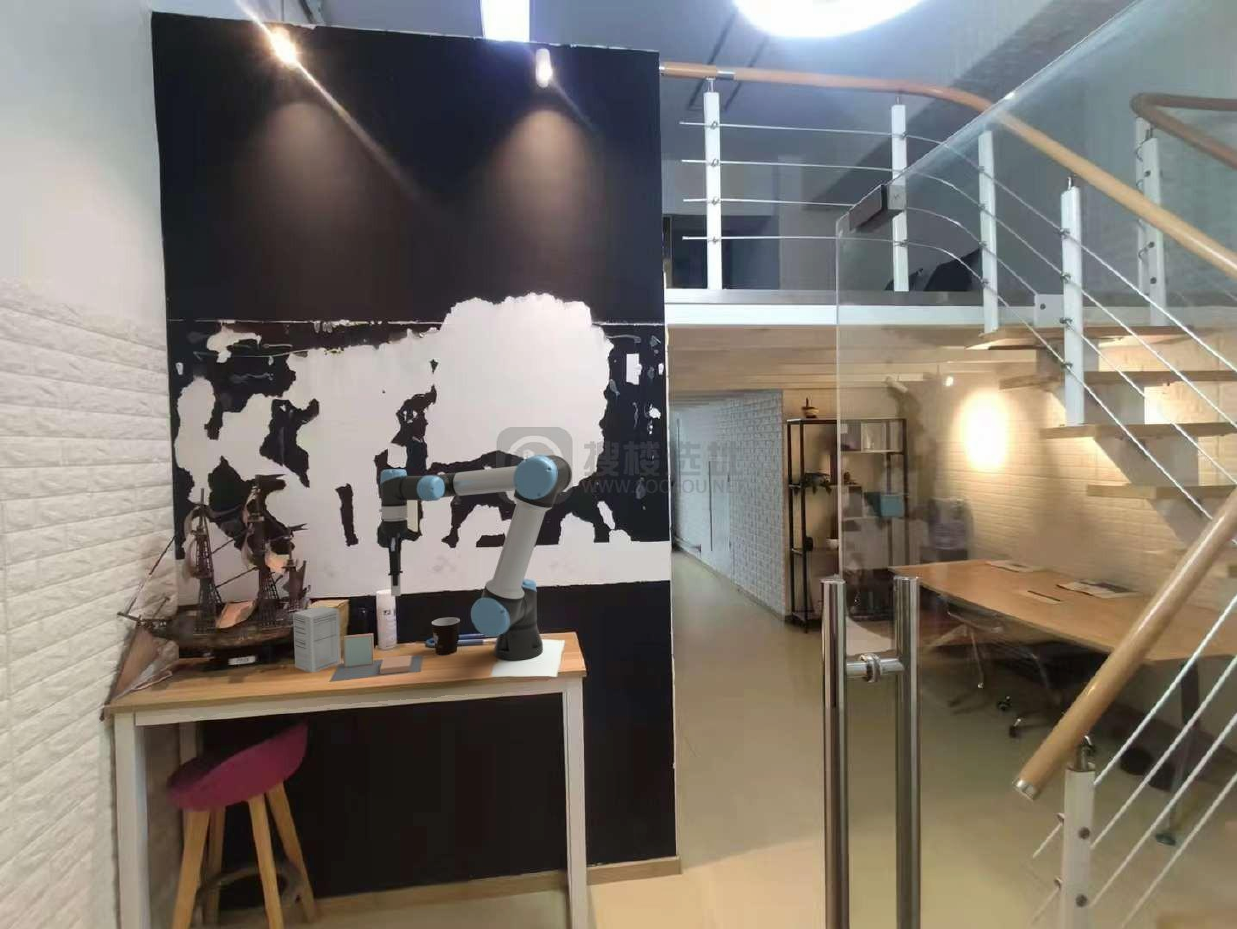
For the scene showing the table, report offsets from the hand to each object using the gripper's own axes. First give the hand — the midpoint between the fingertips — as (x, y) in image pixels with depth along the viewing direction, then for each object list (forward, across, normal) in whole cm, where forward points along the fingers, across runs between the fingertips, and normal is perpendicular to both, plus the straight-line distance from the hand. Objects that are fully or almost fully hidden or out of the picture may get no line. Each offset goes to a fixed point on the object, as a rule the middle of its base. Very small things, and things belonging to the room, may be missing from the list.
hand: (396, 595), depth 181 cm
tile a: (+18, +5, +1) cm, 19 cm away
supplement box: (+20, 0, -22) cm, 30 cm away
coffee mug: (+20, +1, +15) cm, 25 cm away
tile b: (+19, +4, -10) cm, 22 cm away
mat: (+20, +8, -4) cm, 22 cm away
